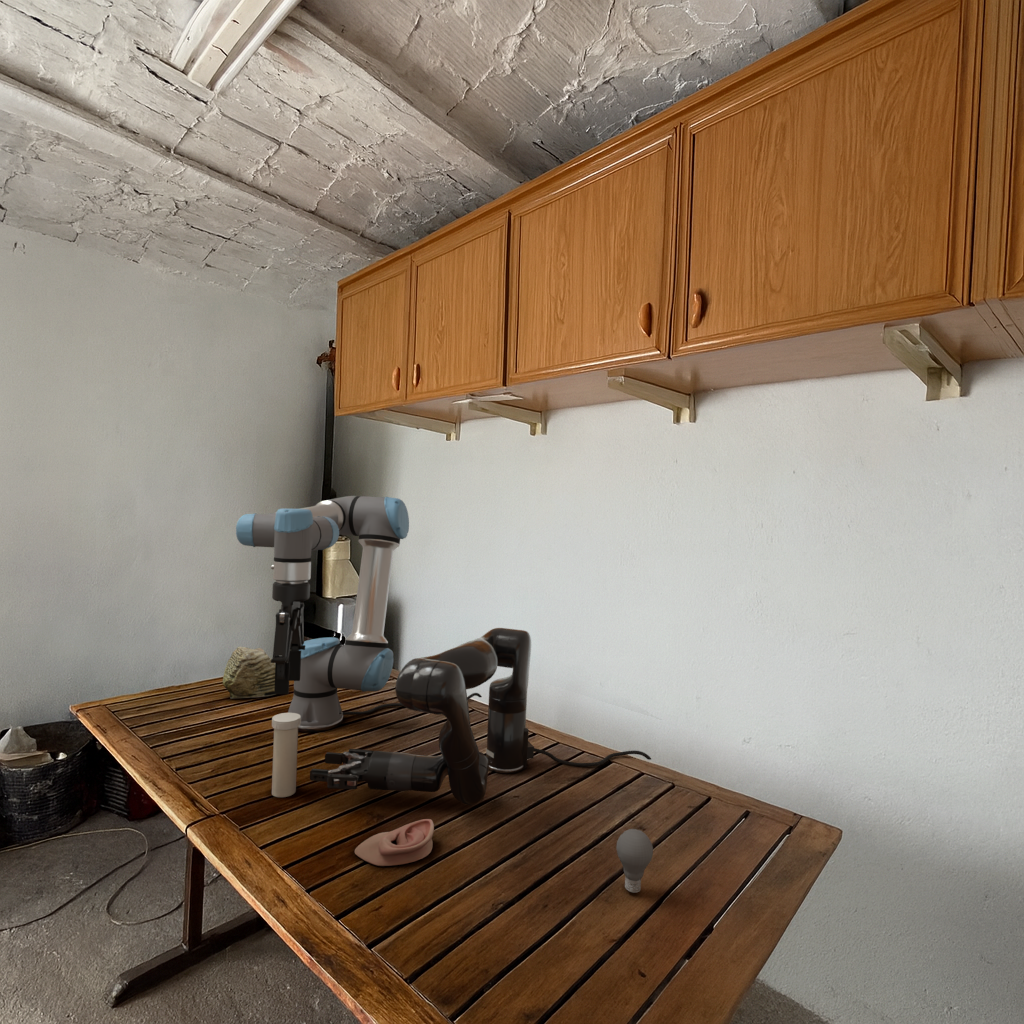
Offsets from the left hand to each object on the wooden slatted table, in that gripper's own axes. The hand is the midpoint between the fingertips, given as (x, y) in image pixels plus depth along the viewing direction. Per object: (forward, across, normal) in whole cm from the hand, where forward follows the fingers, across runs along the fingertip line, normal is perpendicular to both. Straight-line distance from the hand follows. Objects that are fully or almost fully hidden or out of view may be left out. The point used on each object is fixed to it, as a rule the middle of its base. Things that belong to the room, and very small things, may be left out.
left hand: (287, 686), depth 135 cm
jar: (+23, 0, 0) cm, 23 cm away
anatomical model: (+23, +23, +26) cm, 41 cm away
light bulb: (+23, +36, +66) cm, 78 cm away
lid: (+7, 0, 0) cm, 7 cm away
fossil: (+23, -66, -26) cm, 74 cm away
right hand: (+16, +1, +7) cm, 18 cm away
